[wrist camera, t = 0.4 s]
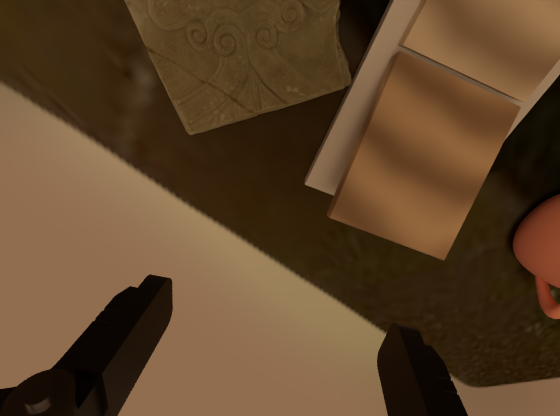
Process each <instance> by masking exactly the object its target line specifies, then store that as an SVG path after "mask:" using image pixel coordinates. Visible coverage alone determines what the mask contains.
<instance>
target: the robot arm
mask: <svg viewBox="0 0 560 416" xmlns="http://www.w3.org/2000/svg"><path fill="white" fill-rule="evenodd" d="M172 309H173V305H172V280H171V279H170V278H166V277H160V276H155V275H148V276H147V277H146V278H145V279H144V281H143V282H142V283H141V284H140V286H139V287H138V288H136V287H131V286H130V287H128V288H127V289H125V290H124V291H122V292H120V293H119V294H117V295H116V296H115V297H114V298H113V299H112V300H111V301H110V303H109V304H108V305H107V306H106V307H105V309H104V311H102V312H101V313H100V314H99V315H98V316H97V317H96V320H95V321H93V322H92V323H91V324H90V325H89V327H88V328H87V329H86V330H85V331H84V332H83V334H82V335H81V336H80V337H79V338H78V339H77V340H76V342H75V343H74V344H73V345H72V346H71V347H70V348H69V350H68V351H67V352H66V353H65V354H64V356H63V357H62V358H61V359H60V360H59V361H58V362H57V363H56V364H55V365H54V366H53V367H52V368H51V369H50V370H46V371H42V372H40V373H37V374H35V375H33V376H31V377H29V378H28V379H26V380H24V381H23V382H22V383H20V384H19V385H18V386H17V387H12V388H5V389H0V416H117V415H118V414H119V412H120V410H121V408H122V406H123V404H124V403H125V401H126V399H127V397H128V396H129V394H130V391H131V390H132V388H133V387H134V385H135V383H136V382H137V380H138V378H139V376H140V374H141V373H142V370H143V369H144V367H145V365H146V363H147V362H148V360H149V358H150V357H151V355H152V353H153V351H154V349H155V347H156V346H157V344H158V342H159V341H160V339H161V337H162V335H163V333H164V331H165V330H166V328H167V326H168V324H169V322H170V319H171V315H172ZM377 366H378V372H379V377H380V381H381V386H382V390H383V395H384V400H385V404H386V409H387V413H388V416H468V415H467V412H466V410H465V408H464V406H463V404H462V401H461V399H460V397H459V395H457V390H456V388H455V386H454V383H453V381H451V377H450V375H449V372H448V370H447V368H446V366H445V363H444V361H443V360H442V359H441V358H440V356H439V355H438V354H437V353H436V351H435V350H434V349H433V348H432V346H428V345H425V344H424V342H423V339H422V337H421V334H420V332H419V330H418V329H417V328H416V327H413V326H408V325H403V324H398V323H393V324H392V325H391V326H390V328H389V330H388V332H387V334H386V337H385V339H384V341H383V343H382V345H381V347H380V349H379V352H378V358H377Z"/></svg>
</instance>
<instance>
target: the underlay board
mask: <svg viewBox="0 0 560 416" xmlns="http://www.w3.org/2000/svg"><path fill="white" fill-rule="evenodd" d="M420 2H421V0H390V2H389V4H388V6H387V8H386V10H385V12H384V14H383V16H382V18H381V21H380V23H379V25H378V27H377V29H376V31H375V33H374V35H373V37H372V39H371V41H370V44H369V46H368V48H367V50H366V52H365V54H364V56H363V58H362V60H361V62H360V64H359V67H358V69H357V71H356V73H355V75H354V77H353V79H352V82H351V85H349V87H348V90H347V92H346V94H345V96H344V98H343V100H342V102H341V104H340V106H339V108H338V110H337V113H336V115H335V117H334V119H333V121H332V123H331V125H330V127H329V129H328V131H327V133H326V136H325V138H324V140H323V142H322V144H321V146H320V148H319V150H318V152H317V154H316V156H315V159H314V161H313V163H312V165H311V167H310V169H309V171H308V173H307V175H306V177H305V185H308V186H310V187H313V188H315V189H318V190H321V191H323V192H326V193H329V194H331V195H334V194H335V192H336V189H337V187H338V185H339V182H340V180H341V177H342V175H343V173H344V170H345V168H346V166H347V163H348V161H349V158H350V156H351V154H352V151H353V149H354V146H355V144H356V142H357V139H358V137H359V134H360V132H361V130H362V127H363V125H364V123H365V120H366V118H367V115H368V113H369V111H370V108H371V106H372V103H373V101H374V99H375V96H376V94H377V91H378V89H379V87H380V84H381V82H382V79H383V77H384V75H385V72H386V70H387V68H388V65H389V63H390V60H391V58H392V56H394V55H395V54H396V53H398V52H399V51H402V52H404V53H406V54H409V55H411V56H413V57H415V58H417V59H419V60H421V61H424V62H426V63H428V64H430V65H432V66H434V67H436V68H439V69H441V70H443V71H445V72H447V73H449V74H451V75H454V76H456V77H458V78H460V79H462V80H464V81H466V82H469V83H471V84H473V85H475V86H477V87H479V88H481V89H484V90H486V91H488V92H490V93H492V94H494V95H496V96H499V97H501V98H503V99H505V100H507V101H509V102H512V103H514V104H516V105H518V106H520V107H521V108H520V110H519V112H518V114H517V116H516V118H515V120H514V122H513V124H512V126H511V128H510V130H509V132H508V134H507V136H506V138H507V137H508V135H509V134H510V133H511V132H512V131H513V129H514V128H515V127H516V126H517V125H518V123H519V122H520V121H521V120H522V119H523V117H524V116H525V115H526V114H527V113H528V112H529V110H530V109H531V108H532V107H533V106H534V104H535V103H536V102H537V101H538V100H539V98H540V97H541V96H542V95H543V94H544V92H545V91H546V90H547V89H548V88H549V86H550V85H551V84H552V83H553V82H554V80H555V79H556V78H557V77H558V76H559V74H560V59H559V61H558V62H557V63H556V64H555V66H554V67H553V68H552V69H551V70H550V72H549V73H548V74H547V75H546V77H545V78H544V79H543V80H542V82H541V83H540V84H539V85H538V86H537V88H536V89H535V90H534V91H533V93H532V94H531V95H530V96H529V97H528V99H527V100H526V101H525V102H521V101H518V100H515V99H512V98H510V97H508V96H506V95H504V94H502V93H500V92H498V91H495V90H493V89H491V88H489V87H487V86H485V85H483V84H480V83H478V82H476V81H474V80H472V79H470V78H468V77H465V76H463V75H461V74H459V73H457V72H455V71H453V70H451V69H448V68H446V67H444V66H442V65H440V64H438V63H436V62H433V61H431V60H429V59H427V58H425V57H423V56H421V55H419V54H416V53H414V52H412V51H410V50H408V49H406V48H404V47H401V46H399V45H398V43H399V41H400V40H401V38H402V36H403V34H404V32H405V30H406V28H407V26H408V24H409V22H410V21H411V19H412V17H413V15H414V13H415V11H416V9H417V7H418V5H419V3H420ZM506 138H505V139H506Z"/></svg>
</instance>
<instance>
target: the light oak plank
mask: <svg viewBox="0 0 560 416" xmlns="http://www.w3.org/2000/svg"><path fill="white" fill-rule="evenodd" d="M398 45H399V46H401V47H404V48H406V49H408V50H410V51H412V52H414V53H416V54H419V55H421V56H423V57H425V58H427V59H429V60H431V61H433V62H436V63H438V64H440V65H442V66H444V67H446V68H448V69H451V70H453V71H455V72H457V73H459V74H461V75H463V76H465V77H468V78H470V79H472V80H474V81H476V82H478V83H480V84H483V85H485V86H487V87H489V88H491V89H493V90H495V91H498V92H500V93H502V94H504V95H506V96H508V97H510V98H512V99H515V100H518V101H521V102H525V101H526V100H527V99H528V97H529V96H530V95H531V94H532V93H533V91H534V90H535V89H536V88H537V86H538V85H539V84H540V83H541V82H542V80H543V79H544V78H545V77H546V75H547V74H548V73H549V72H550V70H551V69H552V68H553V67H554V66H555V64H556V63H557V62H558V61H559V59H560V0H421V2H420V3H419V5H418V7H417V9H416V11H415V13H414V15H413V17H412V19H411V21H410V22H409V24H408V26H407V28H406V30H405V32H404V34H403V36H402V38H401V40H400V41H399V43H398Z"/></svg>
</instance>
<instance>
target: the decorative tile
mask: <svg viewBox="0 0 560 416" xmlns="http://www.w3.org/2000/svg"><path fill="white" fill-rule="evenodd" d="M124 1H125V3H126V5H127V7H128V9H129V11H130V14H131V16H132V18H133V20H134V22H135V24H136V27H137V29H138V31H139V33H140V35H141V37H142V40H143V42H144V44H145V46H146V48H147V51H148V54H149V56H150V58H151V60H152V62H153V64H154V66H155V69H156V71H157V73H158V75H159V77H160V79H161V81H162V83H163V85H164V87H165V89H166V91H167V93H168V95H169V97H170V99H171V101H172V103H173V105H174V107H175V109H176V111H177V113H178V115H179V117H180V119H181V121H182V123H183V126H184V127H185V129H186V131H187V132H188V134H190V135H193V134H196V133H202V132H205V131H208V130H211V129H215V128H218V127H221V126H224V125H228V124H232V123H235V122H238V121H242V120H246V119H249V118H252V117H255V116H258V115H260V114H263V113H266V112H270V111H275V110H278V109H282V108H285V107H288V106H291V105H294V104H298V103H301V102H304V101H307V100H311V99H314V98H316V97H319V96H322V95H325V94H329V93H332V92H335V91H338V90H341V89H344V88H345V87H346V86H348V85H351V82H352V79H351V75H350V71H349V64H348V61H347V59H346V56H345V54H344V51H343V48H342V46H341V45H340V42H339V34H338V32H339V24H338V20H339V17H340V10H339V7H340V4H341V0H124Z"/></svg>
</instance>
